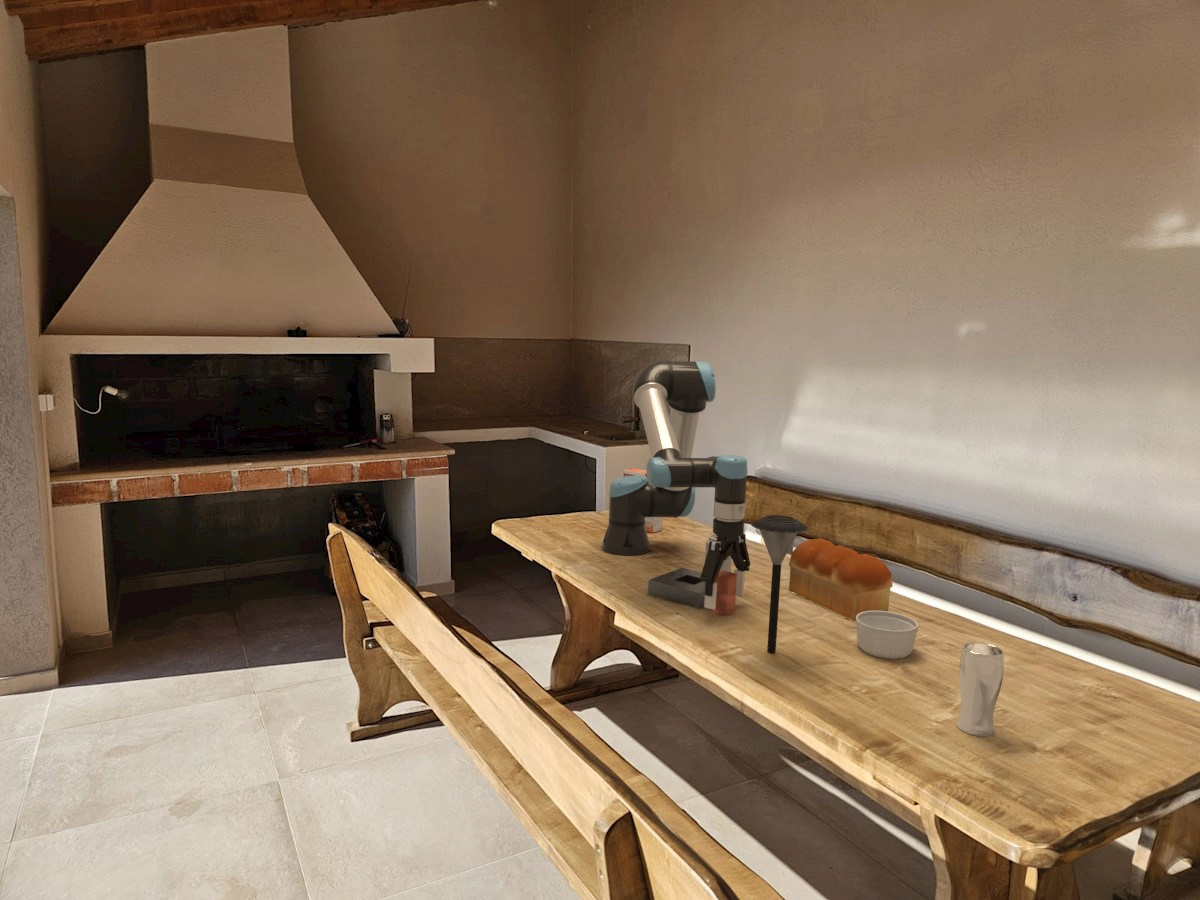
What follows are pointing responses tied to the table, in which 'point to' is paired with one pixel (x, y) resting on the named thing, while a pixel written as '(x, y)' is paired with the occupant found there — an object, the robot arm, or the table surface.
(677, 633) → the table surface
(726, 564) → the can
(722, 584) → the peg
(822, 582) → the bread
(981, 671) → the beer glass
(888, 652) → the ramekin
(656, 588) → the socket block
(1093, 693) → the table surface
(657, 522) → the cracker box
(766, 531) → the solar garden light
